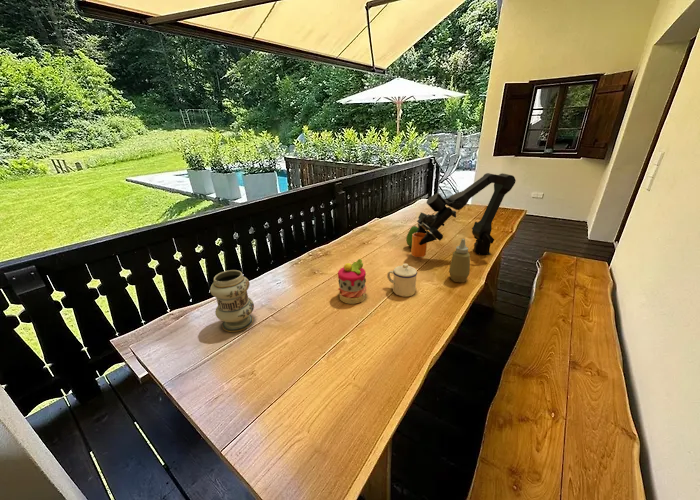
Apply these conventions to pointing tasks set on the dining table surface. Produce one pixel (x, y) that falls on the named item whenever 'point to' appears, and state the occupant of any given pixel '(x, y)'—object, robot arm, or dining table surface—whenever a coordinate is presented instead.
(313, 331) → the dining table surface
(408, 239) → the avocado
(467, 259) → the squeeze bottle
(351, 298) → the cake
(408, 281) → the teacup with lid
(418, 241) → the orange cup
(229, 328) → the apothecary jar
